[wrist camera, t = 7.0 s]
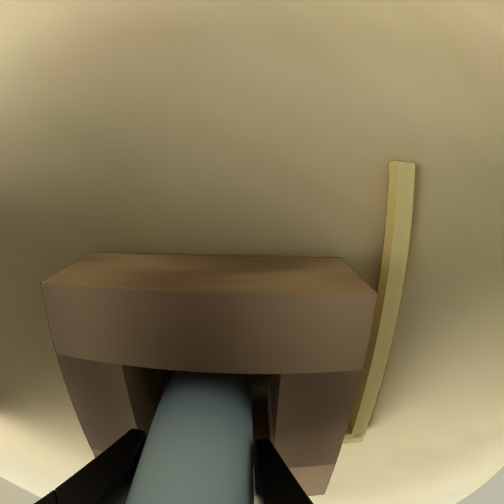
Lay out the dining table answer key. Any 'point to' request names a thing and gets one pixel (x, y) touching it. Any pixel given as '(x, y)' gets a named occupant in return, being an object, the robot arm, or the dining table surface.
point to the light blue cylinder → (198, 443)
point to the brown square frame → (215, 342)
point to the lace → (385, 295)
